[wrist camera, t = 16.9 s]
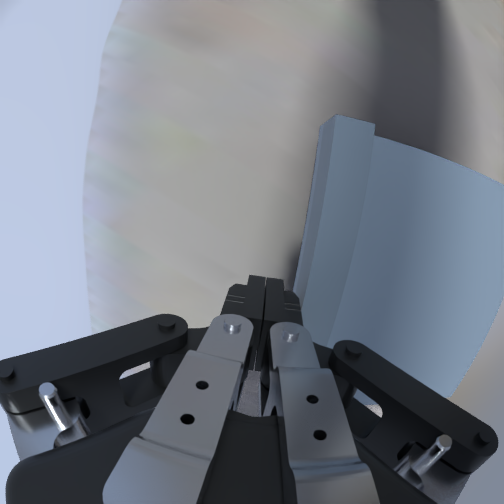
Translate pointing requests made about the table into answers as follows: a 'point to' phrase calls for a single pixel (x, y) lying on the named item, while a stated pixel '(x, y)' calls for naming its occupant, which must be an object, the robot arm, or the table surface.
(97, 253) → the table surface
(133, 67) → the table surface
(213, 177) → the table surface
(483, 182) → the lid
